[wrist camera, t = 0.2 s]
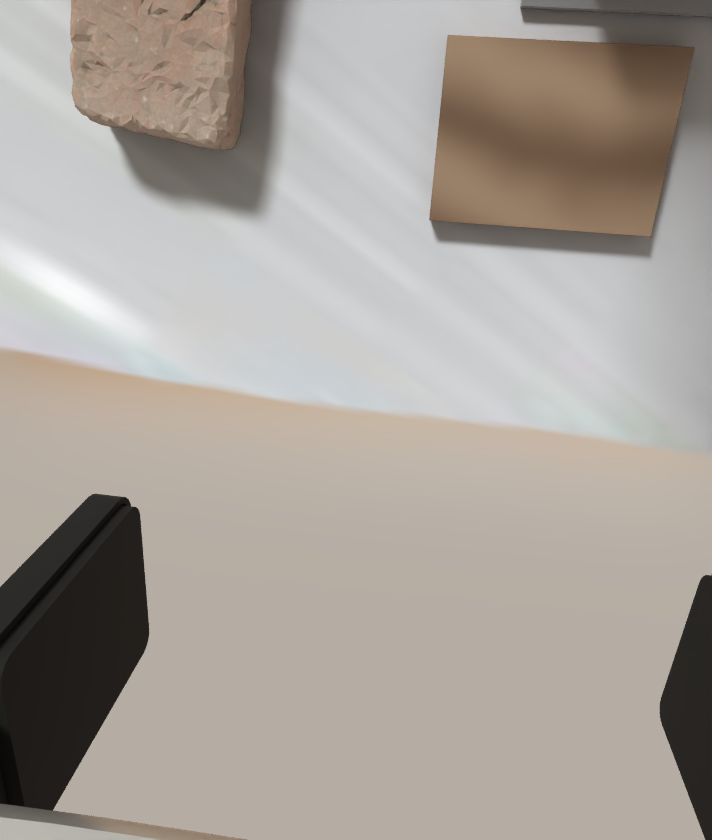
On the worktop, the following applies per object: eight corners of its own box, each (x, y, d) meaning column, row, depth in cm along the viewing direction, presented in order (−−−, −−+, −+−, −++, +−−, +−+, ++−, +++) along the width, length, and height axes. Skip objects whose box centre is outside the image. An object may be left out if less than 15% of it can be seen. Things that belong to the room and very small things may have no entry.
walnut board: (447, 38, 34) (447, 35, 33) (685, 50, 33) (694, 47, 32) (429, 217, 38) (429, 220, 37) (644, 233, 37) (650, 236, 36)
